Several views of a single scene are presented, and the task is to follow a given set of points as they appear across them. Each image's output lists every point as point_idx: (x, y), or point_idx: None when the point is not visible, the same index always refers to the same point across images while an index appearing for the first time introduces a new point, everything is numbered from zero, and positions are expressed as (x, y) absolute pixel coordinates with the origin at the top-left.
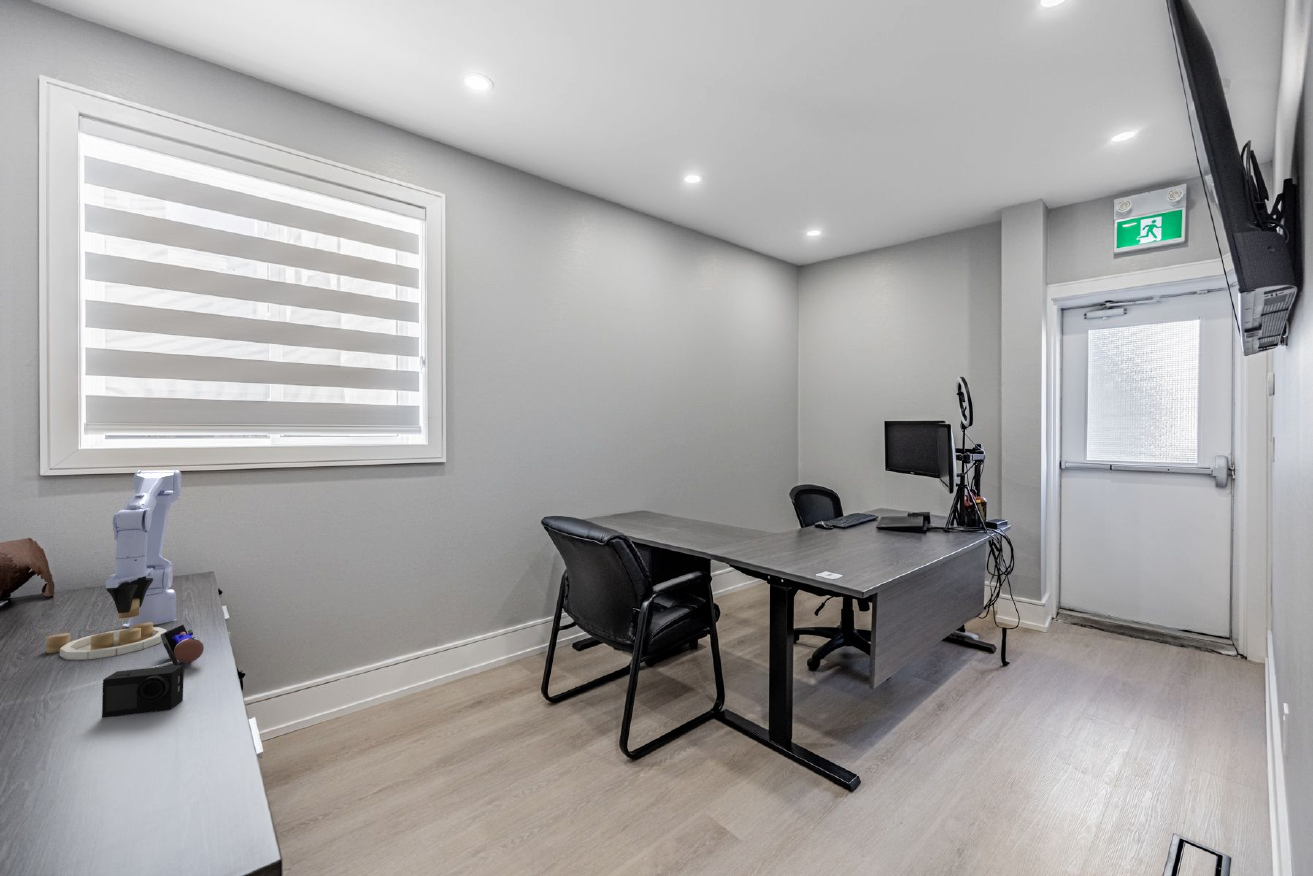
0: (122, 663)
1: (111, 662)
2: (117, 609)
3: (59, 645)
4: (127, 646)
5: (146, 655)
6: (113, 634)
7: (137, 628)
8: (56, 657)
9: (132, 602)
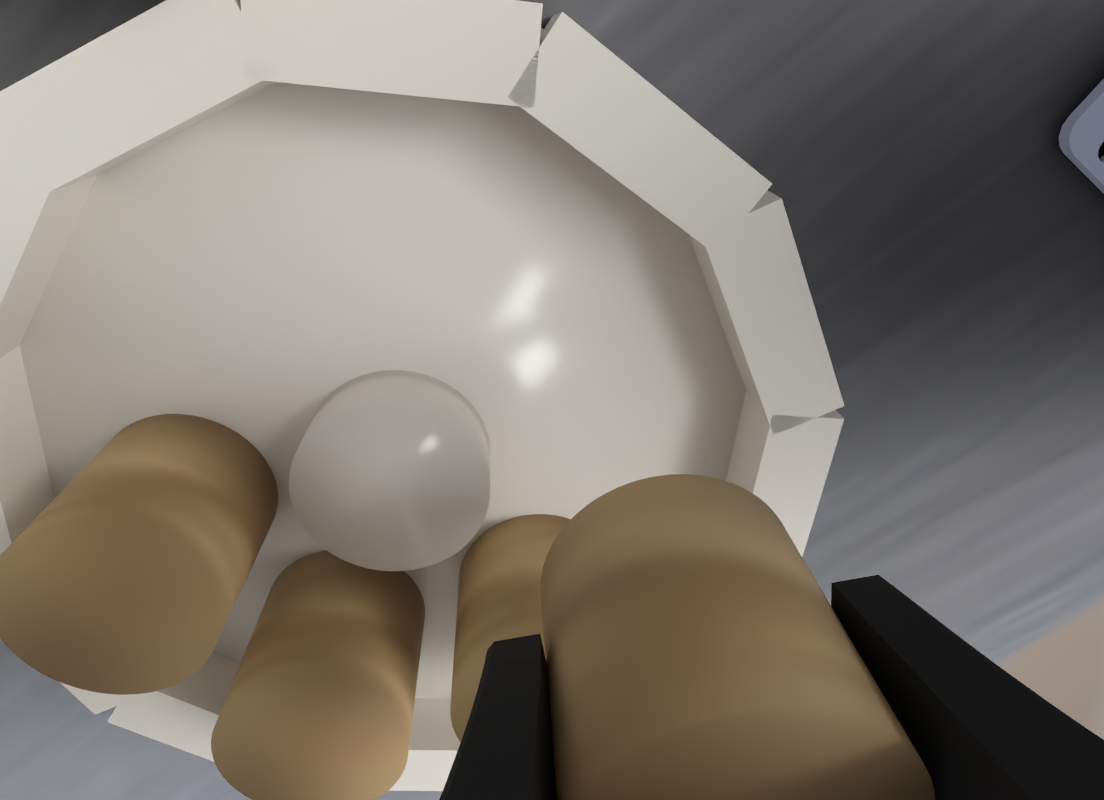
0: (39, 771)
1: (41, 691)
2: (474, 702)
3: None
4: (184, 741)
5: (223, 793)
6: (183, 675)
7: (392, 761)
8: (55, 31)
9: None
